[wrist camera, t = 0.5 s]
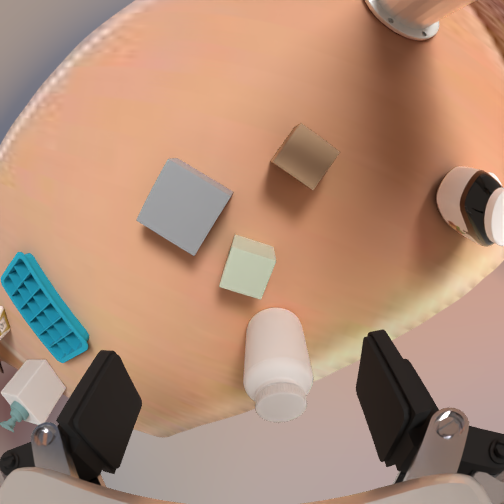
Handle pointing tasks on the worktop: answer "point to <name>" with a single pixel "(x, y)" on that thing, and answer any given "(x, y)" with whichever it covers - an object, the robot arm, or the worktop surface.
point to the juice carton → (3, 323)
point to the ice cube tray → (44, 308)
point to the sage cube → (248, 267)
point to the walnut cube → (305, 156)
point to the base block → (183, 205)
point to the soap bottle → (32, 393)
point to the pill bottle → (277, 365)
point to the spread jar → (473, 204)
